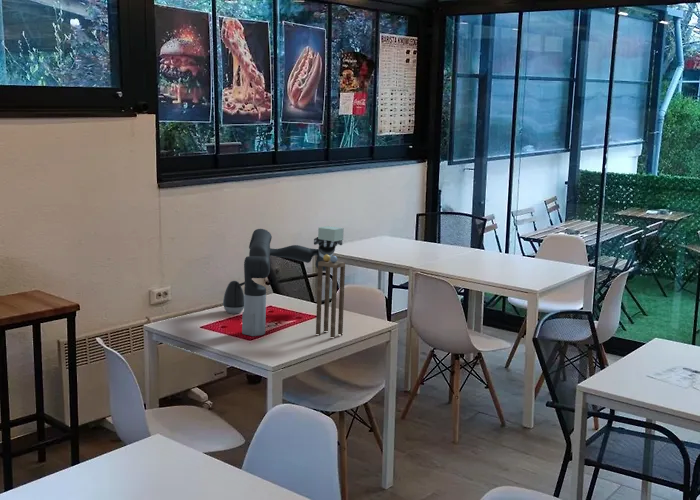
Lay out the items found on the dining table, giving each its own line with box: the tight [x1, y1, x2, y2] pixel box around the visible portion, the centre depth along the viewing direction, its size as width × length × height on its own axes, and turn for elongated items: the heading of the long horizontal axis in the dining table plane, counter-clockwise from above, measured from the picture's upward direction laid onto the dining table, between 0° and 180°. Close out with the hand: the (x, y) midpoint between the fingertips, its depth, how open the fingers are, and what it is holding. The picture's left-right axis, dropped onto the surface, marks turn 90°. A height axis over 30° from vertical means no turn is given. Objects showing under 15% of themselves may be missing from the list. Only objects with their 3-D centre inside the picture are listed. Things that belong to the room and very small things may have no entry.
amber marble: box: [323, 254, 330, 262], centre depth 333 cm, size 3×3×3 cm
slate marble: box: [330, 255, 338, 263], centre depth 331 cm, size 3×3×3 cm
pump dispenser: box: [222, 280, 245, 315], centre depth 368 cm, size 10×10×15 cm
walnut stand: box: [315, 260, 346, 338], centre depth 335 cm, size 7×9×32 cm
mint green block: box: [317, 225, 344, 241], centre depth 345 cm, size 15×15×5 cm
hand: (329, 234), depth 345 cm, fingers closed on mint green block
